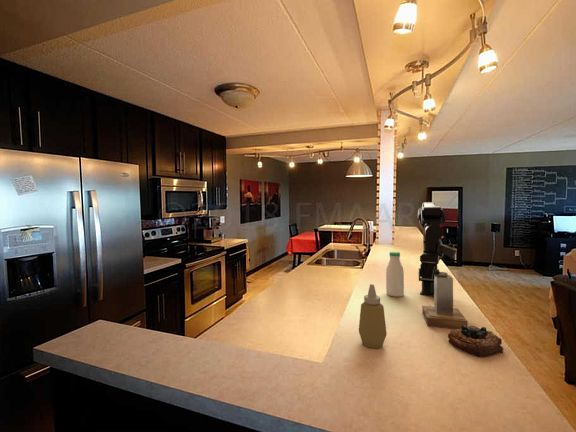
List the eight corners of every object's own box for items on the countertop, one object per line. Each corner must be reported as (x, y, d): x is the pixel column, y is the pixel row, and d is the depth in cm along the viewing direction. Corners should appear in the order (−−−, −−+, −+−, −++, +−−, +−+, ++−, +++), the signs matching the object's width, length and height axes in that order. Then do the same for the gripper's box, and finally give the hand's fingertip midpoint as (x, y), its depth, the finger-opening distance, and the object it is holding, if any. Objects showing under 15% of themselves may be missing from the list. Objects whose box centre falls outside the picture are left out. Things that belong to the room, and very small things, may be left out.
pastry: (508, 352, 78) (509, 332, 78) (478, 361, 74) (478, 339, 74) (471, 336, 88) (471, 317, 88) (442, 342, 84) (442, 323, 84)
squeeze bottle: (356, 348, 81) (356, 287, 81) (360, 336, 89) (359, 280, 89) (386, 353, 78) (385, 289, 78) (387, 340, 86) (386, 282, 86)
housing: (434, 309, 103) (434, 270, 102) (449, 310, 101) (449, 271, 101) (436, 314, 98) (436, 274, 97) (453, 315, 96) (453, 274, 96)
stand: (422, 313, 107) (422, 305, 107) (458, 316, 103) (457, 308, 103) (427, 326, 96) (427, 316, 96) (467, 330, 92) (467, 320, 92)
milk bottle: (404, 297, 126) (404, 253, 125) (386, 296, 128) (386, 253, 128) (403, 292, 133) (403, 251, 133) (386, 291, 136) (385, 250, 135)
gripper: (453, 241, 99) (453, 284, 100) (456, 236, 115) (457, 274, 115) (419, 239, 105) (419, 280, 106) (427, 235, 121) (427, 271, 121)
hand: (432, 276), depth 112 cm, fingers open, 9 cm apart
